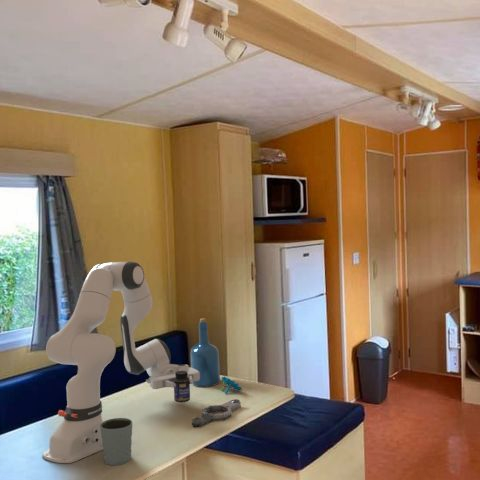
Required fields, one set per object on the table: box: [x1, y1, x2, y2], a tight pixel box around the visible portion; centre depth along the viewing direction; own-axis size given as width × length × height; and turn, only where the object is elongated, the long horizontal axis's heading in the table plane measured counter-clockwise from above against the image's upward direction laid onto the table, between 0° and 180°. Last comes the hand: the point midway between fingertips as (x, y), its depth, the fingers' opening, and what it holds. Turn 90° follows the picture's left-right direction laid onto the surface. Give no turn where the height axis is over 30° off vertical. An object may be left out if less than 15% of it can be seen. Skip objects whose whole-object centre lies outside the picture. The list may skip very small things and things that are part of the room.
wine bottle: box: [190, 317, 221, 388], centre depth 259 cm, size 14×13×30 cm
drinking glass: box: [100, 417, 133, 466], centre depth 182 cm, size 10×10×12 cm
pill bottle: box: [173, 371, 191, 404], centre depth 217 cm, size 6×6×11 cm
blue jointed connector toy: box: [220, 376, 243, 395], centre depth 244 cm, size 11×6×10 cm
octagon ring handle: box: [191, 398, 242, 429], centre depth 217 cm, size 26×11×3 cm, turn 142°
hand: (182, 383), depth 217 cm, fingers closed on pill bottle, 6 cm apart
